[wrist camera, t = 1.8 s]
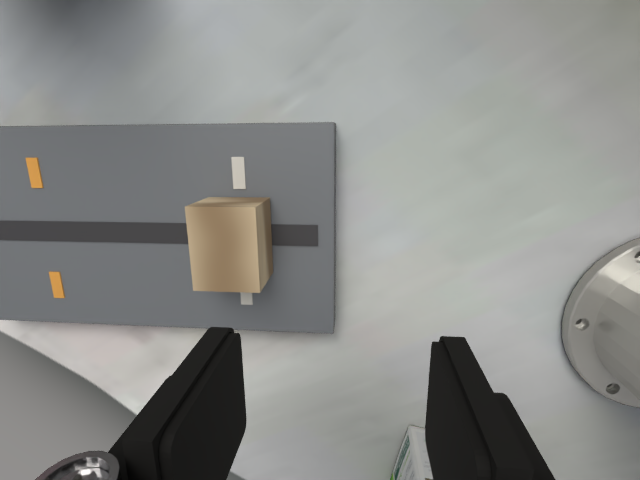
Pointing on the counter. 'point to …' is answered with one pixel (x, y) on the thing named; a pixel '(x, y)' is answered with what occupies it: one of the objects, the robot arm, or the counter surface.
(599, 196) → the counter surface
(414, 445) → the syrup box
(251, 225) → the block
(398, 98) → the counter surface
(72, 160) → the board
